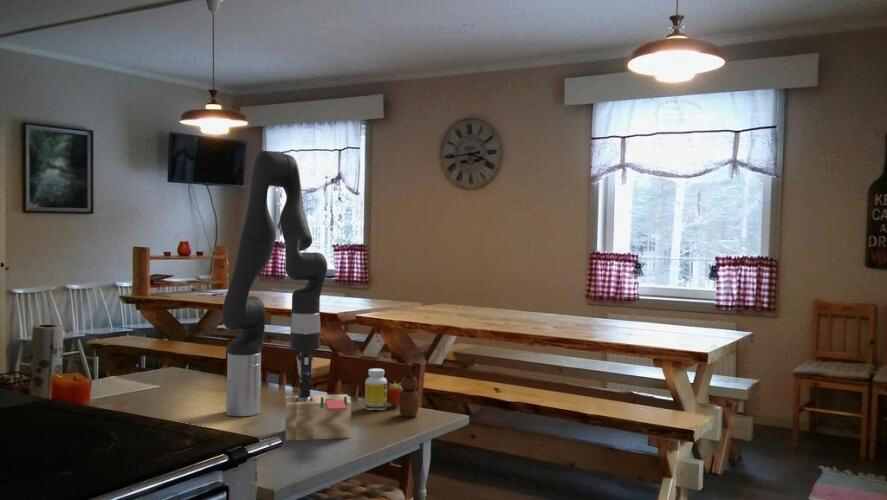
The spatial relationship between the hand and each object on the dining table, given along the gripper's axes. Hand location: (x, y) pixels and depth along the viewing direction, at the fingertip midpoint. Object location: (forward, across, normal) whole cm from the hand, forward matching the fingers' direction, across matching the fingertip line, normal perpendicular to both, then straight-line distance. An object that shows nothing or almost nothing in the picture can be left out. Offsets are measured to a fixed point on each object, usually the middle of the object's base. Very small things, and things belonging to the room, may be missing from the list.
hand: (304, 393), depth 195 cm
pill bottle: (+11, -26, +22) cm, 36 cm away
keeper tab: (+1, +10, +7) cm, 12 cm away
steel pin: (+11, 0, 0) cm, 11 cm away
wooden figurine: (+11, -16, +30) cm, 36 cm away
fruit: (+11, -28, +28) cm, 41 cm away
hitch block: (+11, 0, +4) cm, 11 cm away
